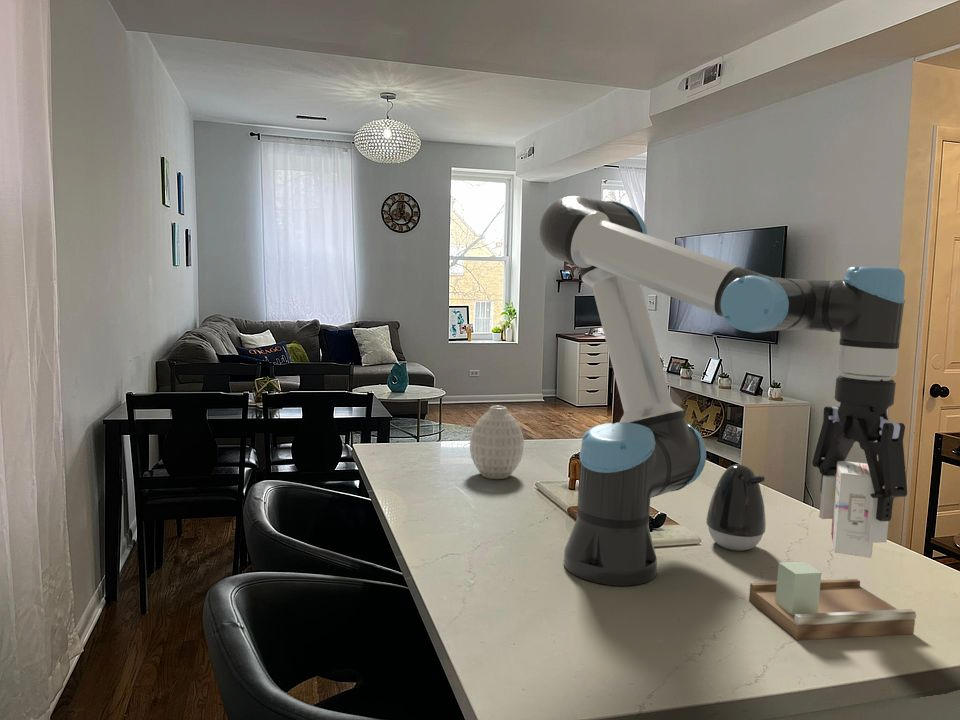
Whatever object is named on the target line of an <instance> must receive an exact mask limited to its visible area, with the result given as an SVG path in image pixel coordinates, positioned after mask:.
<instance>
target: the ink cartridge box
mask: <svg viewBox="0 0 960 720" xmlns="http://www.w3.org/2000/svg"><path fill="white" fill-rule="evenodd" d="M877 460H878V455H877ZM835 475H836V485H835V496H834V507H833V518H832V519H831V520H832V521H831V532H830V535H831V539H832V545H833V552H834V553H835V554H842V555H847V556H849V555H850V556H855V557H863V558H868V559H869V558H870V559H871V558H872V556H873V546H874V545H873V544H874V543H868V542H866V541H865V540H866V529H867V519H868V509H869V499H870V494H873V493H875V492H874V488H873V484H872V480H871V476H870V472H869V468H868V464H867V462H866V463H865V462H858V461H857V462H856V461H855V462H854V461H848V460H845V461H837V470H836V474H835Z"/></svg>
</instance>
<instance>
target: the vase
mask: <svg viewBox="0 0 960 720" xmlns="http://www.w3.org/2000/svg"><path fill="white" fill-rule="evenodd" d="M469 439H470V440H469V452H470V457H471V458H470V459H472V463H473V464H474V466H475V468H476V470H477V471H478V472H479V474H481V476H482V477H484V478H485V479H489V480H490V479H491V480H504V479H507V478H509V477H510V476H511V475H512V474H513V473H514V472H515V471H516V470H517V468H518V467H519V465H520V463H521V461H522V458H523V455H524V449H525V443H524V442H525V441H524V435H523V432H522V428H521V426H520V424H519V422H518V421H517V419H516V418H515V417H514V416H513V415H512V413H511V412H510V411H509V410H508V407H506V406H503V405H491V406H490V407H489V409H488V410H487V412H485V413H484V414H482V415H481V416H480V418H479V419H478V420H477V422H475V425H474V427H473V428H472V431H471V433H470V438H469Z"/></svg>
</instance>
